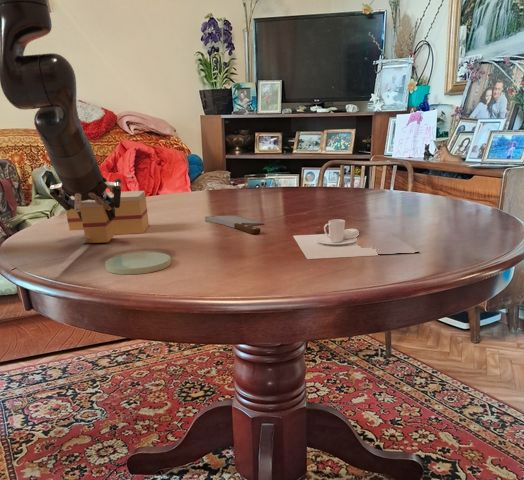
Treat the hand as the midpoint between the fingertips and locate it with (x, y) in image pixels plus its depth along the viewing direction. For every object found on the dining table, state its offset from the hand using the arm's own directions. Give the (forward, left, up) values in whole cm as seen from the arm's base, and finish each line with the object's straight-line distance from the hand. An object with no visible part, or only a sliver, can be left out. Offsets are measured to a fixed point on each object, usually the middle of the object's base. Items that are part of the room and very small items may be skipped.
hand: (98, 217), depth 107 cm
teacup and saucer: (+50, -16, -5) cm, 53 cm away
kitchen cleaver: (+30, +9, -5) cm, 32 cm away
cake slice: (0, -2, -4) cm, 5 cm away
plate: (+11, -24, -5) cm, 27 cm away
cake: (0, +10, -5) cm, 11 cm away
